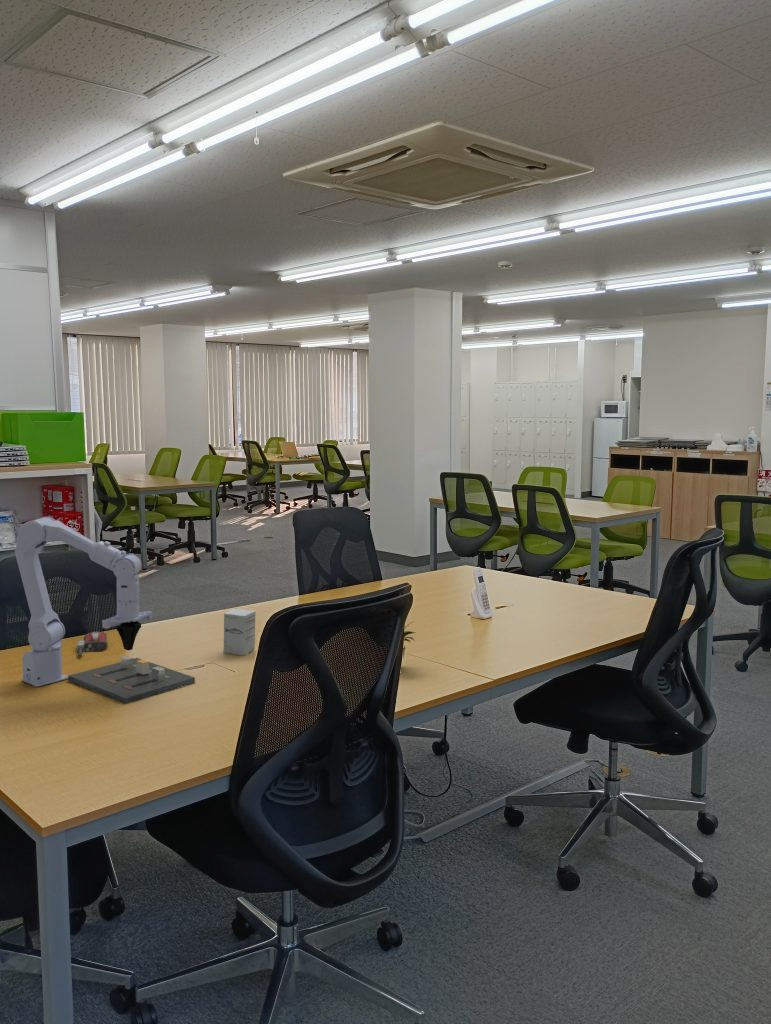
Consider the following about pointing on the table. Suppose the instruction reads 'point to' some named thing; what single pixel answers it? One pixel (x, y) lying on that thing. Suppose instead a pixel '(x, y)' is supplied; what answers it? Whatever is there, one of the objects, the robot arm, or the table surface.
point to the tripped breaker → (142, 667)
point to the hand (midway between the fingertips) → (128, 649)
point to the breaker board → (130, 680)
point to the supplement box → (239, 631)
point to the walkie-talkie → (92, 642)
